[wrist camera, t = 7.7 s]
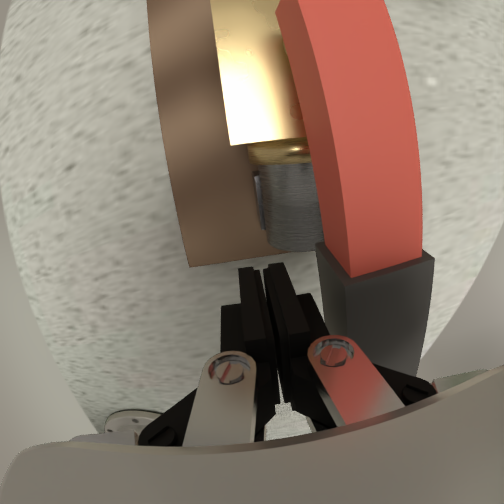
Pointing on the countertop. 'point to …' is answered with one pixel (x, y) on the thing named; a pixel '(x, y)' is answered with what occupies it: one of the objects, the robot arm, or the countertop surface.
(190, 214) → the mounting board
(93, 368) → the countertop surface
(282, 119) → the ball valve
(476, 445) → the robot arm
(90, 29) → the countertop surface
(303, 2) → the valve lever
